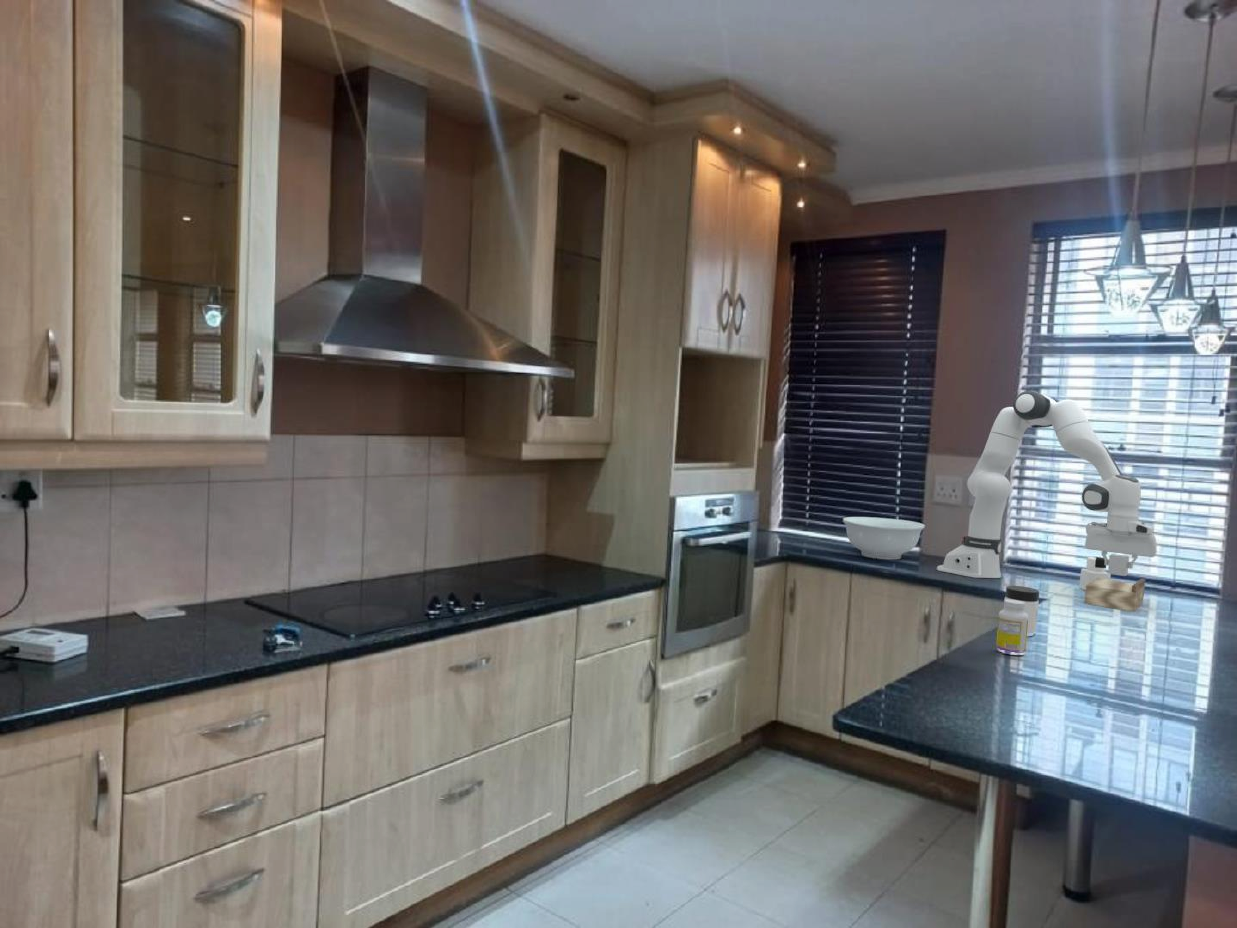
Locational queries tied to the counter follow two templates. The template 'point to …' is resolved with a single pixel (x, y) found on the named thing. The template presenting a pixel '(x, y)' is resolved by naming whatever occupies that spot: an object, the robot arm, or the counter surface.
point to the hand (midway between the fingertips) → (1118, 566)
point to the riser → (1115, 594)
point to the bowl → (882, 536)
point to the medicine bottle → (1093, 571)
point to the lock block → (1118, 564)
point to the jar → (1026, 603)
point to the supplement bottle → (1012, 627)
